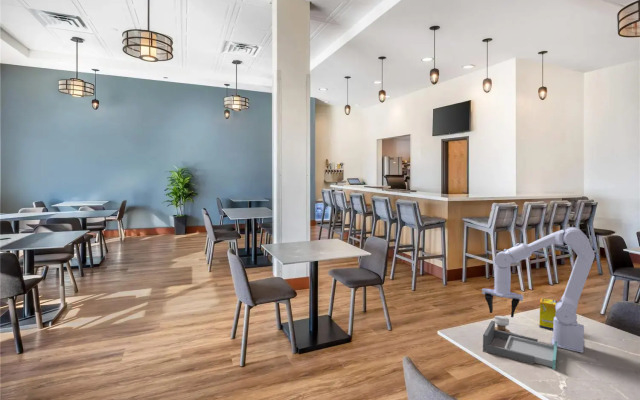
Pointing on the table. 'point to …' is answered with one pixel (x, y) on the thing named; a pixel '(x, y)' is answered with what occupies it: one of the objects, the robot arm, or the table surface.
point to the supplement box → (547, 313)
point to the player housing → (515, 355)
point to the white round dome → (501, 320)
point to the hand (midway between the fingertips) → (501, 314)
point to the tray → (534, 350)
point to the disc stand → (502, 328)
